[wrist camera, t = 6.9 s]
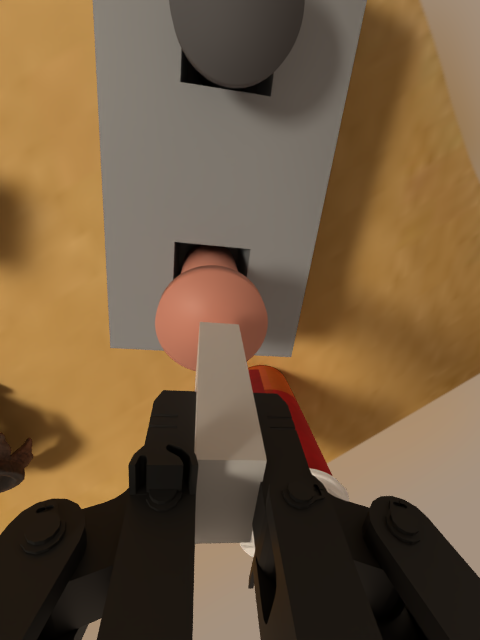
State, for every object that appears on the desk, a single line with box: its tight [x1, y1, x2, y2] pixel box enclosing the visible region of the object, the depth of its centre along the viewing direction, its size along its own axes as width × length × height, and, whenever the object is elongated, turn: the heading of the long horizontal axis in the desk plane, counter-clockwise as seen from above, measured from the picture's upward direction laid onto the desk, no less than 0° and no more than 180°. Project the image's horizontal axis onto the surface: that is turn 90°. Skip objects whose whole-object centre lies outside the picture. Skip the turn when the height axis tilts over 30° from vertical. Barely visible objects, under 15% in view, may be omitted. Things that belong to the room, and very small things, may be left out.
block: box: [93, 0, 367, 357], centre depth 21 cm, size 22×12×7 cm, turn 173°
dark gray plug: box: [169, 0, 305, 92], centre depth 16 cm, size 5×5×9 cm
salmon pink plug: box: [155, 244, 268, 371], centre depth 19 cm, size 5×5×9 cm
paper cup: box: [240, 365, 349, 557], centre depth 27 cm, size 8×8×14 cm
